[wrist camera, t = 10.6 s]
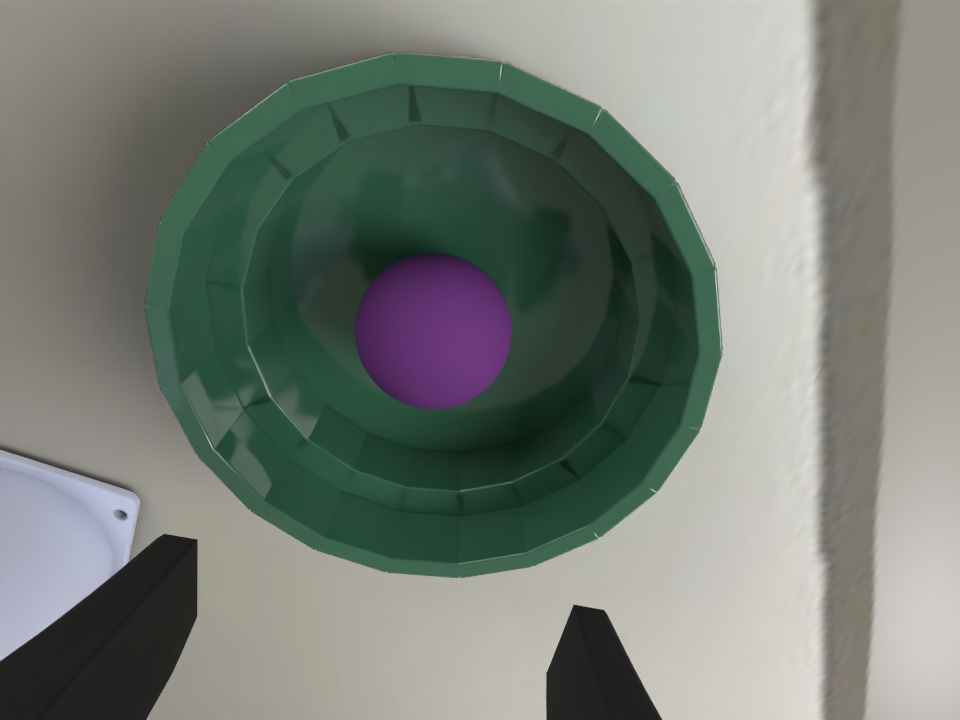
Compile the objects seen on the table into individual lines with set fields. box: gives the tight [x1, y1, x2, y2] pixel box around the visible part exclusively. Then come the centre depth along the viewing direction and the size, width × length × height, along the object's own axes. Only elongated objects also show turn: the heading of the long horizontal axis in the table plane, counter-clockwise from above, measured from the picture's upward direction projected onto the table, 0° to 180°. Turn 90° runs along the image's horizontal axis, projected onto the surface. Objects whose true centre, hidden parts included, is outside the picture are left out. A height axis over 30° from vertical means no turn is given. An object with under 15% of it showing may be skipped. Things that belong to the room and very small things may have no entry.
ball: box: [355, 253, 511, 409], centre depth 17 cm, size 4×4×4 cm
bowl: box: [145, 52, 723, 578], centre depth 18 cm, size 14×14×5 cm
